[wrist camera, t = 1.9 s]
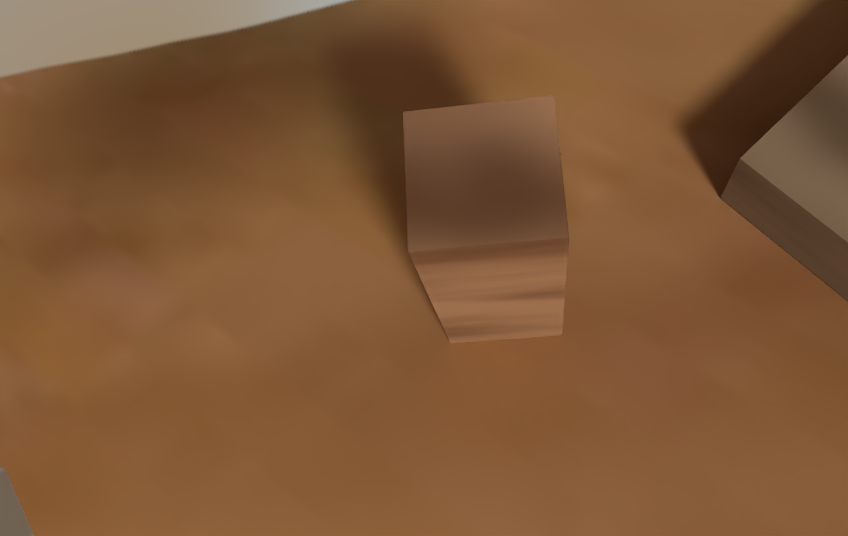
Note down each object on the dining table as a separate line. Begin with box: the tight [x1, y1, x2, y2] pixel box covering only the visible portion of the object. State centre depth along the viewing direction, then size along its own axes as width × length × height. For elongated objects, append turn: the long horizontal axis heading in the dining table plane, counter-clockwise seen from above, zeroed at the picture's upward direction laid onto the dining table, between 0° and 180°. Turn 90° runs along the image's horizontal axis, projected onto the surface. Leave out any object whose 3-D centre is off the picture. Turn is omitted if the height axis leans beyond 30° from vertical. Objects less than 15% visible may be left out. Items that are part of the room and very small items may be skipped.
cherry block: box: [403, 95, 569, 343], centre depth 31 cm, size 5×5×12 cm
